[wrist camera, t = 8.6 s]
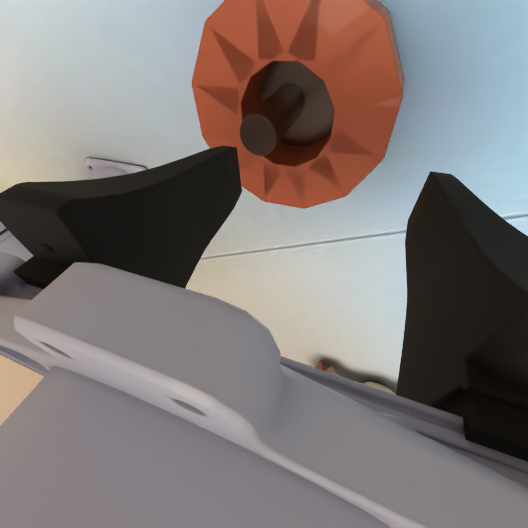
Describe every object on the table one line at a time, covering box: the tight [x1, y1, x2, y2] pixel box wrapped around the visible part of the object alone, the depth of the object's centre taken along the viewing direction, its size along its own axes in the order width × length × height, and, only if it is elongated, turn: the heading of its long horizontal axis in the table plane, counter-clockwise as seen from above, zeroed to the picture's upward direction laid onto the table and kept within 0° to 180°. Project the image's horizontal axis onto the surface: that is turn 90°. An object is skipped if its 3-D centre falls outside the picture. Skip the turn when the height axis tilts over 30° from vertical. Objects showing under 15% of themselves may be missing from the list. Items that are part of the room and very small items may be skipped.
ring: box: [192, 0, 404, 208], centre depth 15 cm, size 11×11×3 cm
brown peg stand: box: [240, 61, 334, 156], centre depth 15 cm, size 7×7×7 cm
